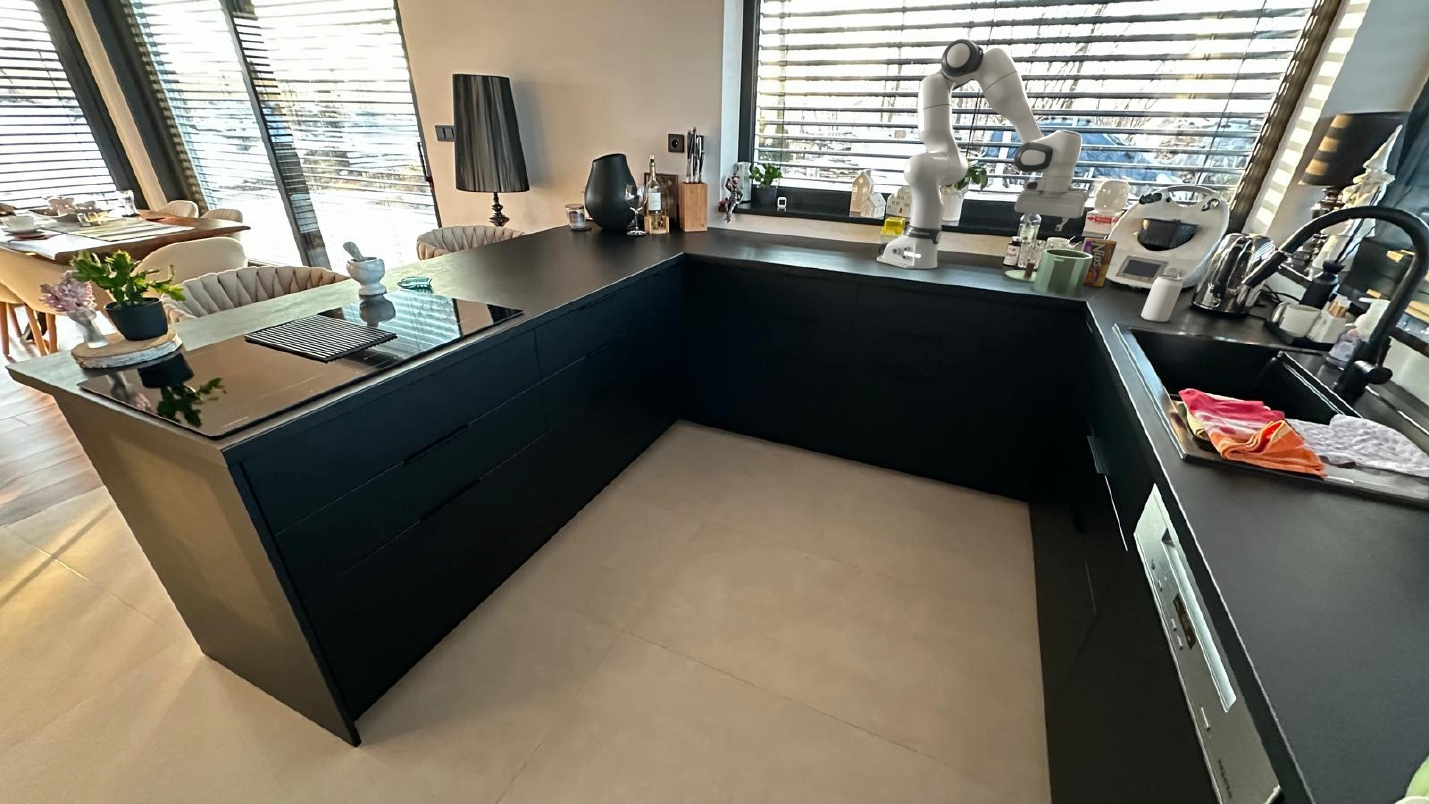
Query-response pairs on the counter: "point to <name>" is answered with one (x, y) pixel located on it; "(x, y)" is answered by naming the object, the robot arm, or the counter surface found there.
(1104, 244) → the candy box
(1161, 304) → the can
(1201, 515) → the counter surface
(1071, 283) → the pot
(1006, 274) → the lid
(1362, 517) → the counter surface
